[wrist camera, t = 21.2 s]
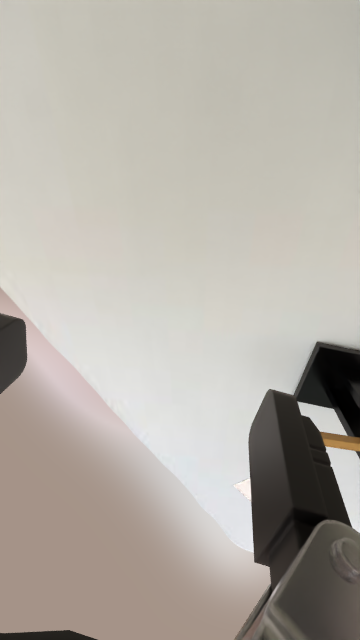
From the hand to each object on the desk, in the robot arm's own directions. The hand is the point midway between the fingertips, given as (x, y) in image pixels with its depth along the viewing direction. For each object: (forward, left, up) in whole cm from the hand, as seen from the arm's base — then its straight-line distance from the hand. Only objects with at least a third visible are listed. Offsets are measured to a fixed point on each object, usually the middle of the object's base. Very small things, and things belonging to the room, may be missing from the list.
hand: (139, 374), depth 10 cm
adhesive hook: (+17, +48, -31) cm, 60 cm away
